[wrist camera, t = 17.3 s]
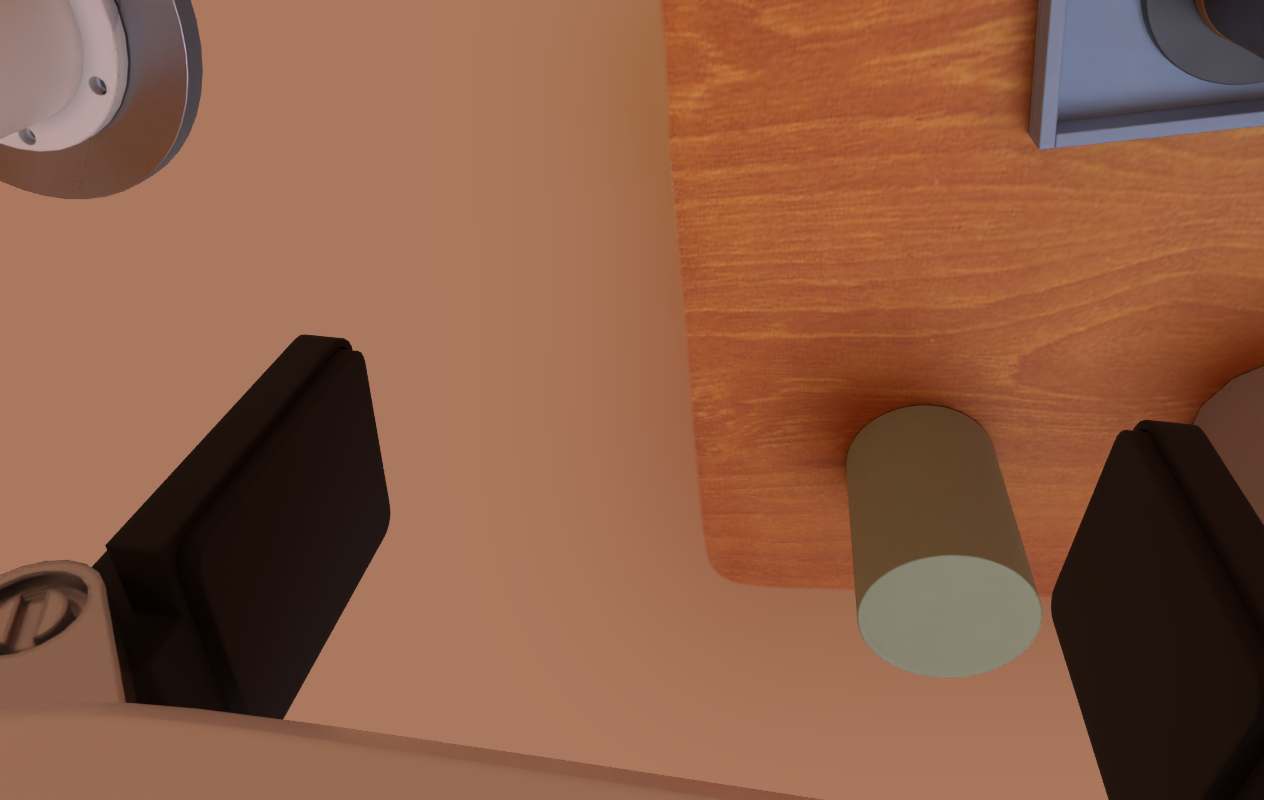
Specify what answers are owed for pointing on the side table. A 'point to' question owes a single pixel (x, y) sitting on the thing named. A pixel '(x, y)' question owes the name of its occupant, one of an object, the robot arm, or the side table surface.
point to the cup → (1239, 432)
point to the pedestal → (937, 546)
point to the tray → (1120, 81)
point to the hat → (1210, 37)
